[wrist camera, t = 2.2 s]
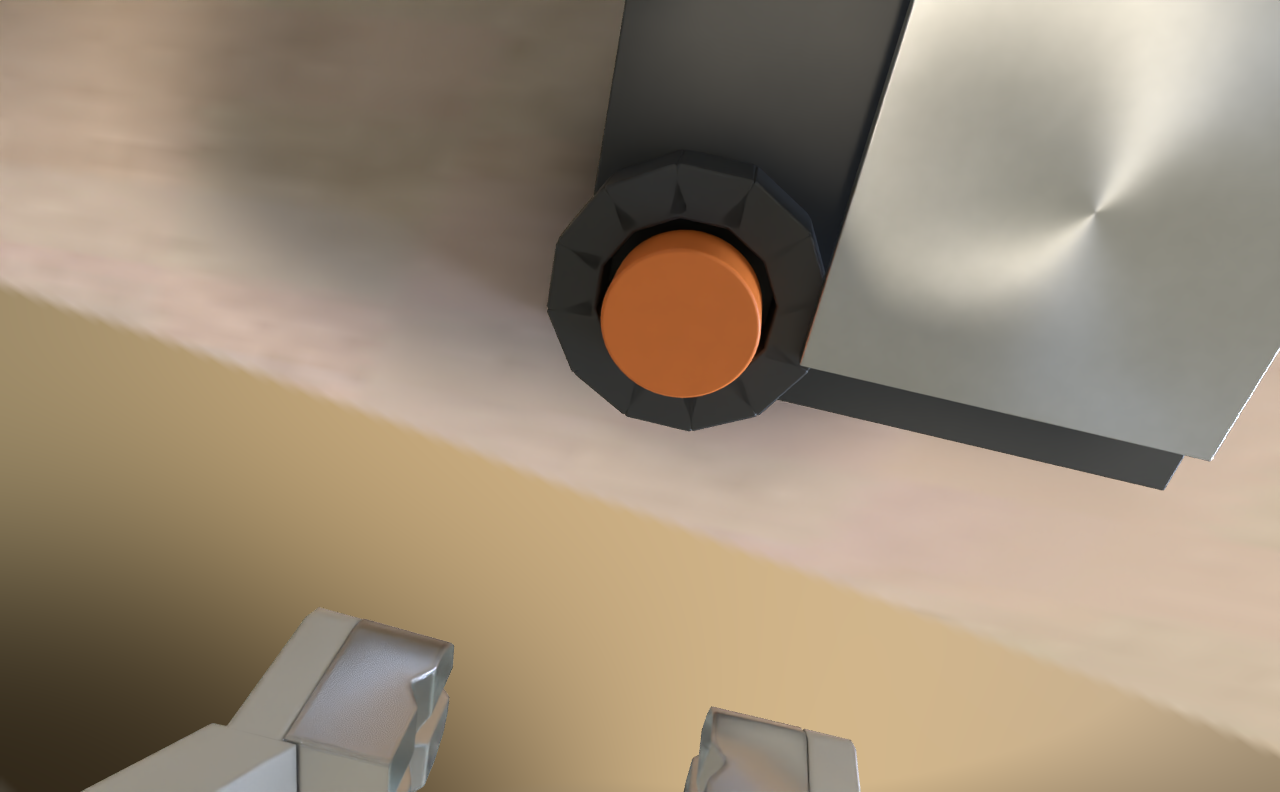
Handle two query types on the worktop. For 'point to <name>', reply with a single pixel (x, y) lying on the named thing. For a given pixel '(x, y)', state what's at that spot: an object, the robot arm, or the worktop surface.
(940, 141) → the weighing plate
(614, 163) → the scale
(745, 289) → the button
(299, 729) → the robot arm
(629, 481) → the worktop surface
